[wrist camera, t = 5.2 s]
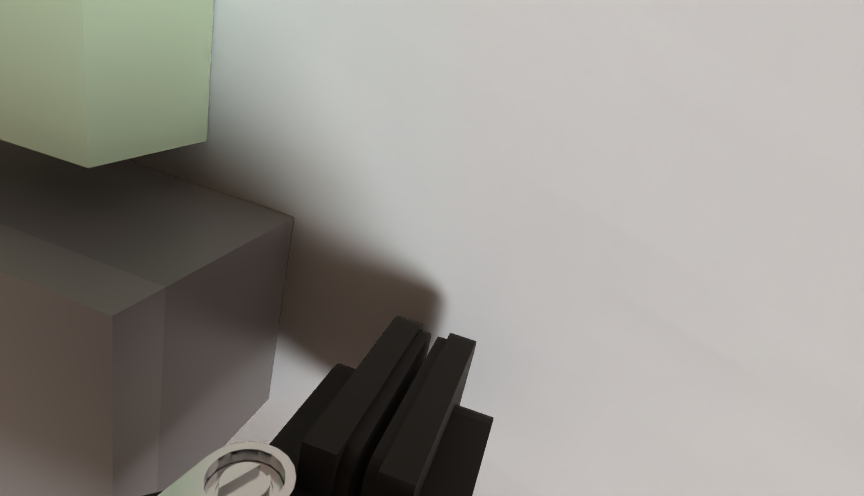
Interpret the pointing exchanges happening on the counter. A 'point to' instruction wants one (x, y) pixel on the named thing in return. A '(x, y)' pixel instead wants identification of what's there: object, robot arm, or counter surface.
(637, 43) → the counter surface
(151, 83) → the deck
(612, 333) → the counter surface
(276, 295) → the gray stepped block
